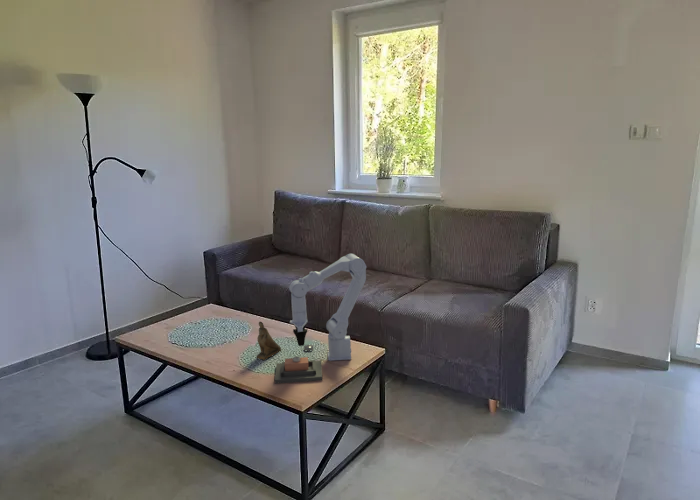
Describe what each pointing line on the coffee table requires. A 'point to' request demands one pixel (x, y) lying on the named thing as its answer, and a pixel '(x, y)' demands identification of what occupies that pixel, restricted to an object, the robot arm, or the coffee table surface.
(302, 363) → the orange knobbed block
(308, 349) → the domed chrome disc
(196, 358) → the coffee table surface
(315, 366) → the stand
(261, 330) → the brown carved statuette
